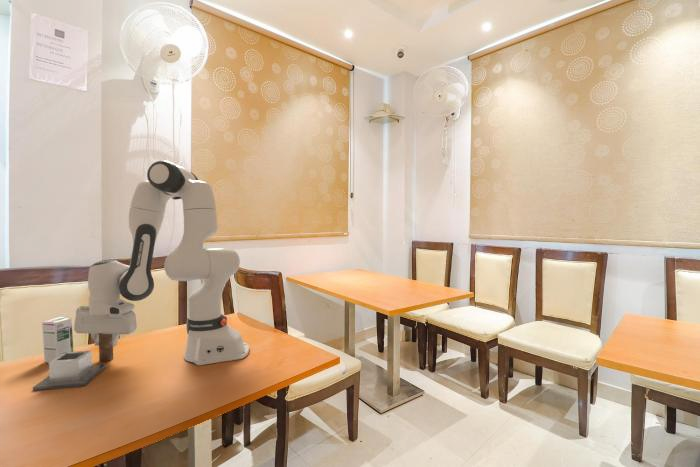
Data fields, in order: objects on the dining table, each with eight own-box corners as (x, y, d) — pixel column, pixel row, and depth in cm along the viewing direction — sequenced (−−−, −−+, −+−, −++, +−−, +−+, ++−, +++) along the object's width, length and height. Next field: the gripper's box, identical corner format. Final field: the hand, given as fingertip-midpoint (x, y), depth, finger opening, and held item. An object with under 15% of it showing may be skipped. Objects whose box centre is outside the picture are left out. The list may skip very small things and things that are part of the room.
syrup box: (57, 364, 116) (55, 322, 115) (43, 362, 117) (41, 321, 116) (74, 357, 121) (72, 317, 121) (60, 355, 123) (59, 316, 122)
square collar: (105, 367, 114) (104, 346, 113) (84, 386, 101) (83, 363, 101) (60, 370, 111) (59, 349, 111) (32, 390, 98) (31, 367, 98)
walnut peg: (115, 357, 122) (114, 329, 121) (110, 361, 118) (109, 333, 118) (102, 357, 121) (101, 330, 121) (97, 362, 117) (96, 334, 117)
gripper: (68, 308, 116) (69, 348, 117) (126, 309, 115) (127, 349, 116) (83, 303, 122) (84, 341, 123) (138, 304, 121) (139, 342, 122)
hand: (106, 345), depth 119 cm, fingers closed on walnut peg, 4 cm apart
